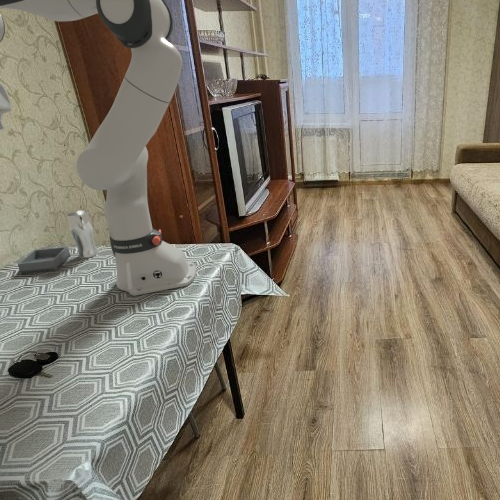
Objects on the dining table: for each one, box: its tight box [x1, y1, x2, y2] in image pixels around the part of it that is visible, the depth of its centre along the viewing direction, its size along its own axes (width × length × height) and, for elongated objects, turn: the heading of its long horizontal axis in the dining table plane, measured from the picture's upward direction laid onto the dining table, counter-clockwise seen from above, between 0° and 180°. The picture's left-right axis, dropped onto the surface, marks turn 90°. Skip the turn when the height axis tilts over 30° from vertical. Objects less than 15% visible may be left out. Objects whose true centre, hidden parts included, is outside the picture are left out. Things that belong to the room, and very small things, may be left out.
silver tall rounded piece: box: [66, 209, 99, 259], centre depth 125 cm, size 7×7×15 cm
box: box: [17, 246, 71, 275], centre depth 123 cm, size 11×11×4 cm
